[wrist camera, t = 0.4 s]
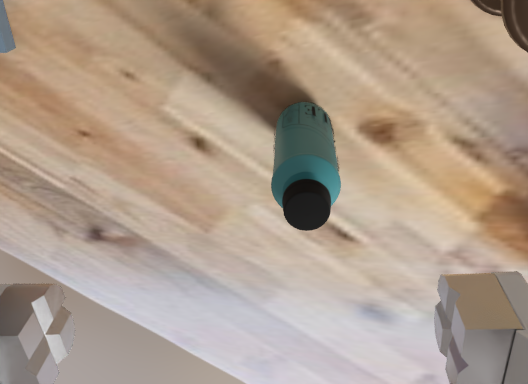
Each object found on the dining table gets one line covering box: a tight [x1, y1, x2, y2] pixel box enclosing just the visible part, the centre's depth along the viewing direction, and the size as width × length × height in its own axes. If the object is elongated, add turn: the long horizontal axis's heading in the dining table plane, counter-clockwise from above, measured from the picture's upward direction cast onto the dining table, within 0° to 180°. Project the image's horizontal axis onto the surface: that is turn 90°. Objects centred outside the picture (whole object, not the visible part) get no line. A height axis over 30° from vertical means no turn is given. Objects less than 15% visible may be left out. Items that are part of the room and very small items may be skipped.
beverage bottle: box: [271, 102, 341, 231], centre depth 50 cm, size 6×7×20 cm
